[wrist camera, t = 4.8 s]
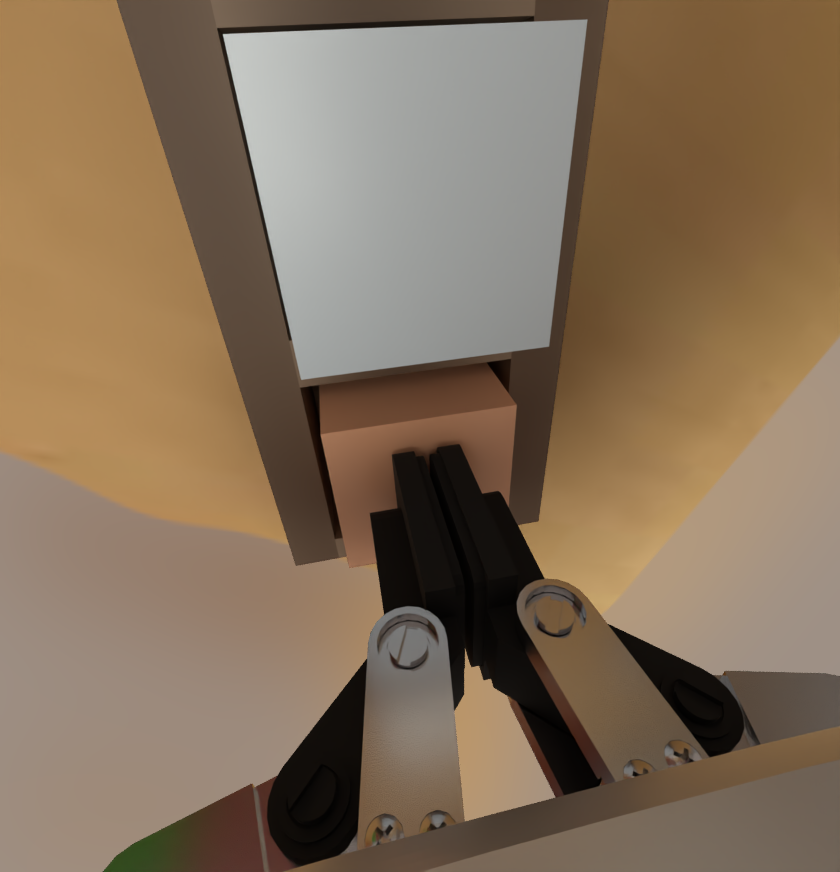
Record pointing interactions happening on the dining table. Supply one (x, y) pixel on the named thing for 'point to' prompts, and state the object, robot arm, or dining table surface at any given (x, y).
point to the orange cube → (410, 438)
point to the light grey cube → (412, 184)
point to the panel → (250, 246)
